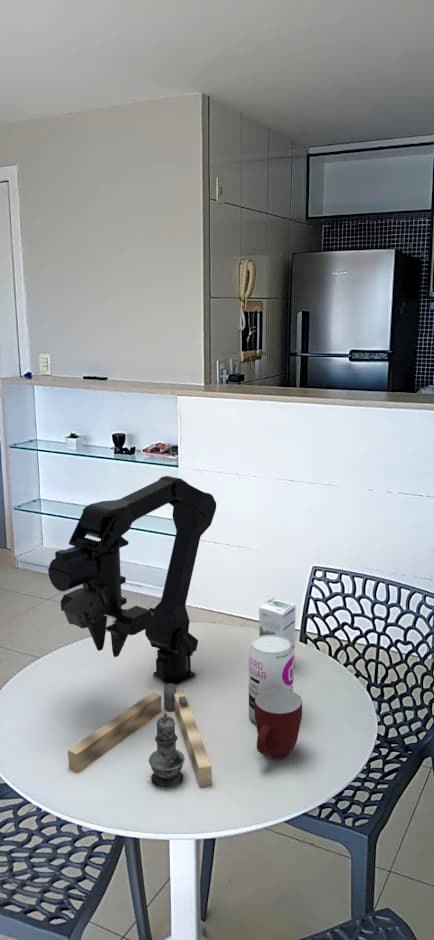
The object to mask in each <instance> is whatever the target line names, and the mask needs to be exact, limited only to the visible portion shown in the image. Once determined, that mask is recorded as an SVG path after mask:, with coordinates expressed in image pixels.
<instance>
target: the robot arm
mask: <svg viewBox="0 0 434 940" xmlns="http://www.w3.org/2000/svg"><path fill="white" fill-rule="evenodd" d="M167 504H170V505H171V506H172V507H173V508H172V519H173V523H174V527H175V530H176V532H175V536H174V542H173V547H172V550H171V555H170V560H169V564H168V569H167V573H166V577H165V583H164V586H163V592H162V595H161V600H160V601H159V602H158V603H157V604H156V606H155V607H154V608H153V607H150V608H149V609H148V608H145V607H142V606H138V605H134V606H132V607H130V608H125V609H124V608H122V606H124V605H126V604H127V603H128V601H127V598H126V597H124V596H122V585H123V584H125V583H126V582H127V581H126V576H123V575H121V573H122V572H121V551H120V548H124V547H126V546H128V545H129V543H130V542H129V540H127V539H125V538H124V537H123V535H125V534H126V533H128V531H130V529H131V527H132V524H133V523H134V522H135V521H137V520H138V519H140V518H142V517H144V516H147V515H148V514H150V513H152V512H154V511H156V510H158V509H159V508H162V507H163V506H165V505H167ZM216 510H217V502H216V500H215V497H214V496H213V494H211V493H208V492H205V491H202V490H200V489H198V488H197V487H195V486H192V485H191V484H189V483H188V482H187V481H185V480H184V479H182V478H180V477H174V476H170V475H164V476H161V477H160V478H159V479H158V480H156V481H154V482H153V483H150V484H148V485H146V486H144V487H142V488H140V489H138V490H136V491H134V492H132V493H129V494H128V495H126V496H124V497H121V498H118V499H114V500H102V501H97V502H94V503H90V504H88V505H86V506H85V507H84V508H83V509H82V513H81V516H80V518H79V520H78V521H77V524H76V527H75V528H74V530H73V532H72V535H71V537H70V538H69V541H68V545H69V546H72V547H69V548H67V549H60V550H56V551H55V553H54V555H55V558H54V559H52V560H51V561H50V564H49V567H48V569H47V571H48V572H47V573H48V577H49V580H50V582H51V584H52V586H53V588H55V589H56V590H57V591H59V592H67V591H68V590H71V589H74V588H76V587H79V586H82V587H80V588H78V589H77V588H76V589H75V590H73V591H70V592H67V593H66V594H64V595H63V596H62V598H61V600H60V610H61V611H62V612H64V615H65V617H66V619H67V622H68V624H69V625H74V626H77V627H78V628H80V629H88V631H89V633H90V636H91V638H92V641H93V643H94V646H95V648H96V650H97V651H99V652H101V651H102V650H104V646H105V645H104V644H105V642H106V641H105V640H106V634H107V633H106V631H107V632H109V633H110V638H111V639H110V640H111V651H112V655H113V658H117V657H119V656H120V654H121V652H122V649H123V647H124V645H125V643H126V640H127V639H128V637H129V636H135V635H137V634H139V633H140V632H143V631H144V630H145V631H144V632H145V633H144V634H145V635H144V636H145V637H146V638H147V640H148V641H149V644H150V646H151V647H152V648H156V649H157V650H156V654H157V658H155V659H156V660H155V669H156V670H155V671H154V672H153V673H152V675H153V676H154V677H155V678H157V679H159V680H160V681H162V682H163V683H165V684H170V683H171V684H175V685H176V686H177V685H178V684H181V683H183V682H186V681H188V680H190V679H192V678H194V677H196V675H197V674H196V672H194V671H192V670H191V668H192V667H191V661H192V660H191V657H192V656H193V654H194V652H196V651H197V649H198V644H199V639H198V638H196V637H195V636H193V634H191V633H190V632H189V629H190V618H189V614H188V610H187V607H186V603H187V599H188V595H189V590H190V585H191V582H192V581H191V580H192V576H193V572H194V569H195V568H194V567H195V562H196V558H197V555H198V549H199V544H200V540H201V537H202V535H203V534H204V533H205V532H206V531H207V530H208V529H209V528H210V526H211V525H212V523H213V519H214V516H215V513H216ZM86 536H89V537H94V538H96V539H99V540H95V539H91V538H88V537H86ZM108 618H111V619H113V621H112V624H111V625H108V624H107V623H108ZM107 625H108V626H107Z"/></svg>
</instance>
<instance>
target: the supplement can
mask: <svg viewBox="0 0 434 940" xmlns="http://www.w3.org/2000/svg"><path fill="white" fill-rule="evenodd" d="M251 642H252V643H251V645H250V647H249V649H248V716H249V718H250V720H252V721H253V723H255V724H256V721H255V713H254V704H255V697H256V696H257V694H259V693H260V692H262V691H264V690H267V689H274V688H280V689H286V690H290V691H293V692H294V668H295V666H294V650H293V648H292V646H291V644H290V642H289V640H288V639H286V638H284V637H281V636H277V635H264V636H260V637H259V636H258V637H256V638H254V639H253V640H252V641H251Z"/></svg>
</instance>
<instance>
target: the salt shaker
mask: <svg viewBox="0 0 434 940" xmlns="http://www.w3.org/2000/svg"><path fill="white" fill-rule="evenodd" d="M177 741H178V735H177V734H176V723H175V719H174V718H173V717H172V716H169V715H168V713H167V712H164V714H163V715H162V716H160V717H159V718H158V719H157V722H156V736H155V737H154V742H155V743H156V750H155V751H154V752H152V753H151V754H150V756H149V757H148V764H149V766H150V767H151V768H150V769H151V770H152V772H153V773H152V774H151V776H150V782H151V783H152V785H154V787H156V788H159V789H164V790H169V789H174V788H176V787H178V786H180V785H181V784H182V782H183V780H184V775H183V772H182V771H181V770H182V768H183V765H184V763H185V760H186V757H185V755H184V753H183V752H182V751H180V750H178V749H177V743H176V742H177Z"/></svg>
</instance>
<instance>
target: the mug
mask: <svg viewBox="0 0 434 940" xmlns="http://www.w3.org/2000/svg"><path fill="white" fill-rule="evenodd" d="M254 713H255V721H256V723H255V726H256V729H257V739H256V749H257V752H258V753H259V754H261V755H264V756H265V755H266V756H268V757H269V758H271V759H273V760H284V759H286V758H288V757H289V756H290V754H291V752H292V751H293V750H294V748H295V746H296V744H297V741H298V738H299V737H298V736H299V733H300V728H301V723H302V718H303V699H302V698H301V696H300V695H299V694H298V693H296V692H294V690H293V691H290V690H286V689H280V688H274V689H267V690H264V691H262V692H260V693H259V694H257V696H256V697H255V704H254Z"/></svg>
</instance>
